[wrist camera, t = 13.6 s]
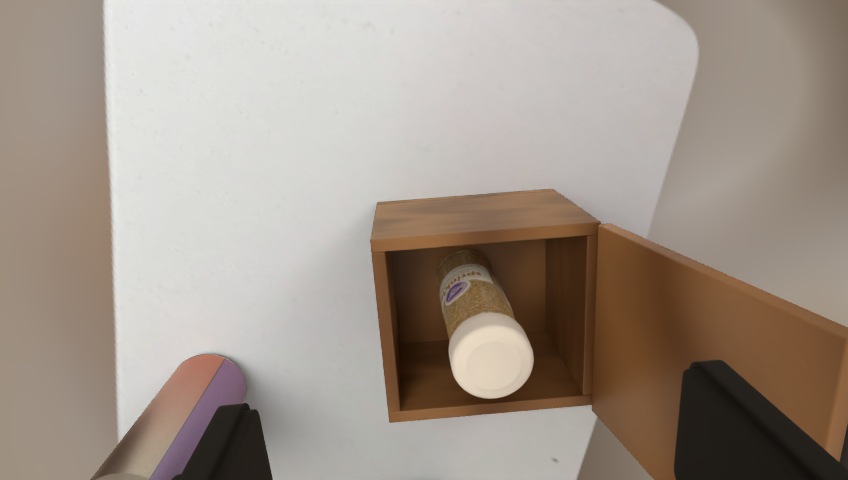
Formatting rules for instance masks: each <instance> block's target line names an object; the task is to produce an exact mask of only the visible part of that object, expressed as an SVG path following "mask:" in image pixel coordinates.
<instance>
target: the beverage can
mask: <svg viewBox="0 0 848 480" xmlns="http://www.w3.org/2000/svg"><path fill="white" fill-rule="evenodd" d="M246 392H247V385H246V381H245V378H244V376H243V374H242V372H241V370H240V369H239V368H238V366H237V365H236V364H234V363H233V362H232V361H230V360H229V359H227V358H225V357H222V356H219V355H213V354H204V355H198V356H194V357H191V358H189V359H187V360H186V361H184V362H183V363H182V364H181V365H180V366H179V367H178V368H177V370H176V371H175V372H174V373H173V375H172V376H171V377H170V378H169V380H168V381H167V382H166V384H165V385H164V386H163V387H162V389H161V390H160V391H159V393H158V394H157V395H156V396H155V398H154V399H153V400H152V402H151V403H150V404H149V405H148V407H147V408H146V409H145V411H144V412H143V413H142V414H141V416H140V417H139V418H138V419H137V421H136V422H135V423H134V425H133V426H132V427H131V428H130V430H129V431H128V432H127V434H126V435H125V436H124V437H123V439H122V440H121V441H120V443H119V444H118V445H117V446H116V448H115V449H114V450H113V452H112V453H111V454H110V455H109V457H108V458H107V459H106V461H105V462H104V463H103V464H102V466H101V467H100V468H99V470H98V471H97V472H96V473H95V475H94V476H93V477H92V478H91V480H172V478H173V477H174V476H176V475H178V474H182V472H183V470H184V468H185V466H186V465H187V463H188V461H189V459H190V457H191V456H192V454H193V452H194V450H195V448H196V446H197V445H198V443H199V441H200V439H201V437H202V435H203V434H204V432H205V430H206V428H207V426H208V424H209V423H210V421H211V419H212V417H213V415H214V413H215V412H216V410H217V408H218V407H219V406H221V405H232V404H242V403H243V401H244V399H245V396H246Z"/></svg>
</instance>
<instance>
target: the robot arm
mask: <svg viewBox="0 0 848 480" xmlns="http://www.w3.org/2000/svg"><path fill="white" fill-rule="evenodd" d="M674 475H675V478H676V480H848V469H846V468H845V467H844V466H843V465H842V464H841V463H840V462H838V461H837V460H836V459H835V458H834V457H833V456H832V455H830V454H829V453H828V452H827V451H826V450H825V449H824V448H822V447H821V446H820V445H819V444H818V443H817V442H816V441H814V440H813V439H812V438H811V437H810V436H809V435H808V434H806V433H805V432H804V431H803V430H802V429H801V428H800V427H798V426H797V425H796V424H795V423H794V422H793V421H792V420H790V419H789V418H788V417H787V416H786V415H785V414H784V413H782V412H781V411H780V410H779V409H778V408H777V407H776V406H774V405H773V404H772V403H771V402H770V401H769V400H768V399H766V398H765V397H764V396H763V395H762V394H761V393H760V392H758V391H757V390H756V389H755V388H754V387H753V386H752V385H750V384H749V383H748V382H747V381H746V380H745V379H744V378H742V377H741V376H740V375H739V374H738V373H737V372H736V371H735V370H733V369H732V368H731V367H730V366H729V365H728V364H727V363H725V362H724V361H722V360H708V361H697V362H693V363H691V365H690V367H689V369H686V370H684V372H683V376H682V386H681V396H680V407H679V417H678V427H677V438H676V448H675V459H674ZM172 480H273V479H272V474H271V469H270V464H269V460H268V455H267V450H266V445H265V440H264V436H263V431H262V426H261V421H260V416H259V413H258V411H257V410H256V409H253V410H250V407H249V405H248V404H247V403H243V404H232V405H221V406H219V407H218V408H217V410H216V412H215V413H214V415H213V417H212V419H211V421H210V423H209V424H208V426H207V428H206V430H205V432H204V434H203V435H202V437H201V439H200V441H199V443H198V445H197V446H196V448H195V450H194V452H193V454H192V456H191V457H190V459H189V461H188V463H187V465H186V466H185V468H184V470H183V472H182V474H178V475H176V476H174V477H173V478H172Z"/></svg>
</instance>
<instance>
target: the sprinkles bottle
mask: <svg viewBox="0 0 848 480" xmlns="http://www.w3.org/2000/svg"><path fill="white" fill-rule="evenodd" d="M436 282H437V286H438V288H439V290H440V293H439V294H440V301H441V306H442V312H443V317H444V320H445V323H446V328H447V333H448V337H449V359H450V364H451V369H452V373H453V376H454V378H455V380H456V381H457V383H458V384H459V385H460V386H461V387H462V388H463V389H464V390H465V391H467V392H468V393H470V394H472V395H474V396H477V397H481V398H488V399H492V398H500V397H504V396H507V395H509V394H511V393H513V392H515V391H516V390H518V389H519V388H520V387H521V386H522V385H523V384H524V383H525V382H526V381H527V379H528V378H529V376H530V374H531V372H532V368H533V363H534V356H533V350H532V347H531V345H530V342H529V340H528V338H527V336H526V334H525V331H524V330H523V328H522V327H521V326H520V324H518V323H517V322H516V320H515V318H514V315H513V311H512V308H511V306H510V304H509V302H508V300H507V298H506V296H505V294H504V292H503V290H502V288H501V286H500V284H499V282H498V280H497V278H496V276H495V275H494V274H493V271H492V268H491V264H490V263H489V261H488V260H487V258H486V257H485V256H484V255H483V254H481V253H479V252H477V251H474V250H468V249H461V250H457V251H455V252H452V253H450V254H448V255H447V256H446V257H445V258H443V259H442V261H441V263H440V264H439V266H438V269H437V273H436Z"/></svg>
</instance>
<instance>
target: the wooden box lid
mask: <svg viewBox="0 0 848 480" xmlns="http://www.w3.org/2000/svg"><path fill="white" fill-rule="evenodd" d="M708 360H722V361H724V362H725V363H727V364H728V365H729V366H730V367H731V368H732V369H733V370H735V371H736V372H737V373H738V374H739V375H740V376H741V377H742V378H744V379H745V380H746V381H747V382H748V383H749V384H750V385H752V386H753V387H754V388H755V389H756V390H757V391H758V392H760V393H761V394H762V395H763V396H764V397H765V398H766V399H768V400H769V401H770V402H771V403H772V404H773V405H774V406H776V407H777V408H778V409H779V410H780V411H781V412H782V413H784V414H785V415H786V416H787V417H788V418H789V419H790V420H792V421H793V422H794V423H795V424H796V425H797V426H798V427H800V428H801V429H802V430H803V431H804V432H805V433H806V434H808V435H809V436H810V437H811V438H812V439H813V440H814V441H816V442H817V443H818V444H819V445H820V446H821V447H822V448H824V449H825V450H826V451H827V452H828V453H829V454H830V455H832V456H833V457H834V458H835V459H836V460H837V461H838V462H840V463H841V464H842V465H843V466H844V467H845V468H846V469H848V328H847V327H845V326H843V325H841V324H838V323H836V322H834V321H831V320H829V319H827V318H824V317H822V316H820V315H818V314H815V313H813V312H811V311H809V310H806V309H804V308H802V307H799V306H797V305H795V304H793V303H790V302H788V301H786V300H783V299H781V298H779V297H777V296H774V295H772V294H770V293H767V292H765V291H763V290H761V289H758V288H756V287H754V286H752V285H749V284H747V283H745V282H742V281H740V280H738V279H736V278H733V277H731V276H729V275H726V274H724V273H722V272H720V271H717V270H715V269H713V268H710V267H708V266H706V265H704V264H701V263H699V262H697V261H694V260H692V259H690V258H688V257H685V256H683V255H681V254H679V253H676V252H674V251H672V250H670V249H667V248H665V247H663V246H660V245H658V244H656V243H654V242H651V241H649V240H647V239H644V238H642V237H640V236H638V235H635V234H633V233H631V232H629V231H626V230H624V229H622V228H619V227H617V226H615V225H613V224H602V225H599V227H598V255H597V283H596V311H595V339H594V366H593V394H592V411H593V412H594V413H595V414H596V415H597V416H598V418H599V419H600V420H601V421H602V422H603V423H604V424H605V425H606V426H607V428H608V429H609V430H610V431H611V432H612V433H613V434H614V435H615V437H616V438H617V439H618V440H619V441H620V442H621V443H622V444H623V445H624V447H625V448H626V449H627V450H628V451H629V452H630V453H631V454H632V455H633V457H634V458H635V459H636V460H637V461H638V462H639V463H640V464H641V466H642V467H643V468H644V469H645V470H646V471H647V472H648V473H649V475H651V477H652V478H653V479H654V480H676V478H675V475H674V459H675V448H676V438H677V427H678V417H679V407H680V396H681V386H682V376H683V372H684V370H686V369H689V367H690V365H691V363H693V362H697V361H708Z"/></svg>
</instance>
